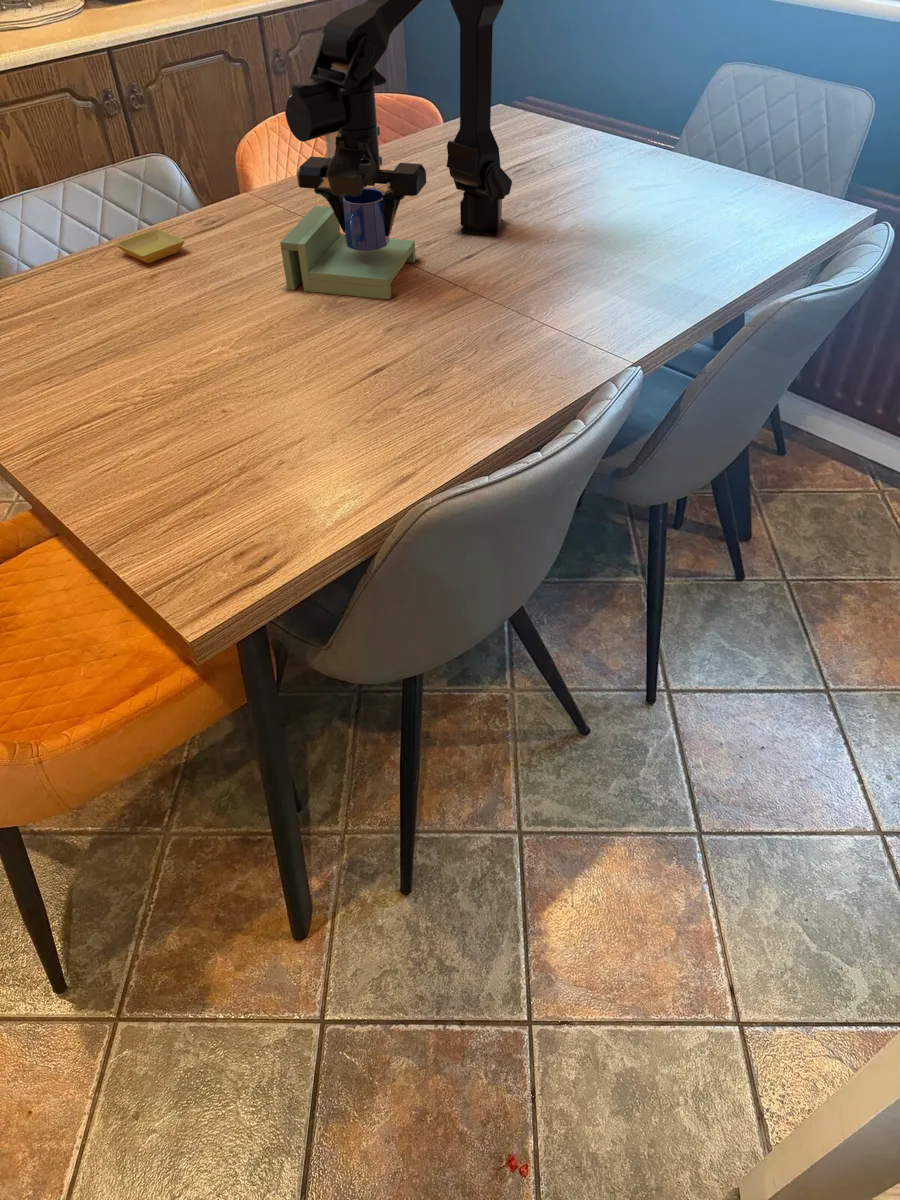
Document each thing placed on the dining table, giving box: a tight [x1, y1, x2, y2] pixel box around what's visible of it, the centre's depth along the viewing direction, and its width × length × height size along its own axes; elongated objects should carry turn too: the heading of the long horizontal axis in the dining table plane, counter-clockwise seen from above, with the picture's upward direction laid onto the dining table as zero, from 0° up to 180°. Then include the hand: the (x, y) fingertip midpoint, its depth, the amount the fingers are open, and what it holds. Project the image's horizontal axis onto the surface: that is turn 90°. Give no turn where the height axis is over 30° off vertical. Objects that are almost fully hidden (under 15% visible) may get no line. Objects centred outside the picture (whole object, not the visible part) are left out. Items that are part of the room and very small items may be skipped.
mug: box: [341, 187, 390, 251], centre depth 132 cm, size 7×9×7 cm
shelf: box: [279, 205, 417, 300], centre depth 137 cm, size 17×15×8 cm
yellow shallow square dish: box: [115, 228, 186, 264], centre depth 147 cm, size 9×9×2 cm
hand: (366, 233), depth 135 cm, fingers closed on mug, 7 cm apart
